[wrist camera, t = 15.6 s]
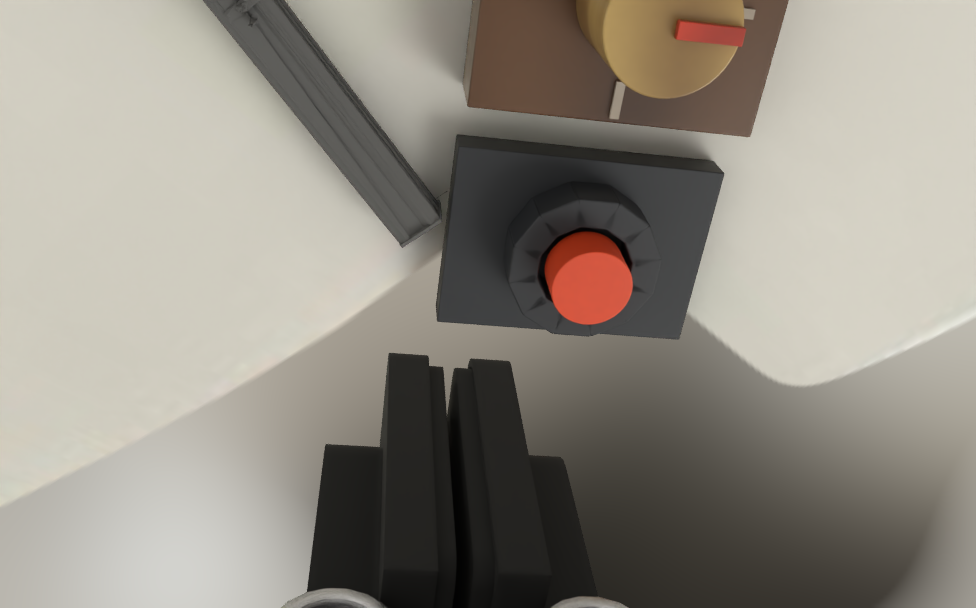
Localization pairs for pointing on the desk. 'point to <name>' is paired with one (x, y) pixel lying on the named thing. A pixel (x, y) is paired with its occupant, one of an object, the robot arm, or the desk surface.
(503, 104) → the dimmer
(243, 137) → the desk surface
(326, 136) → the dark grey long bar
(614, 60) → the dimmer knob
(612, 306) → the power button
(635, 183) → the switch box
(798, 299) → the desk surface
